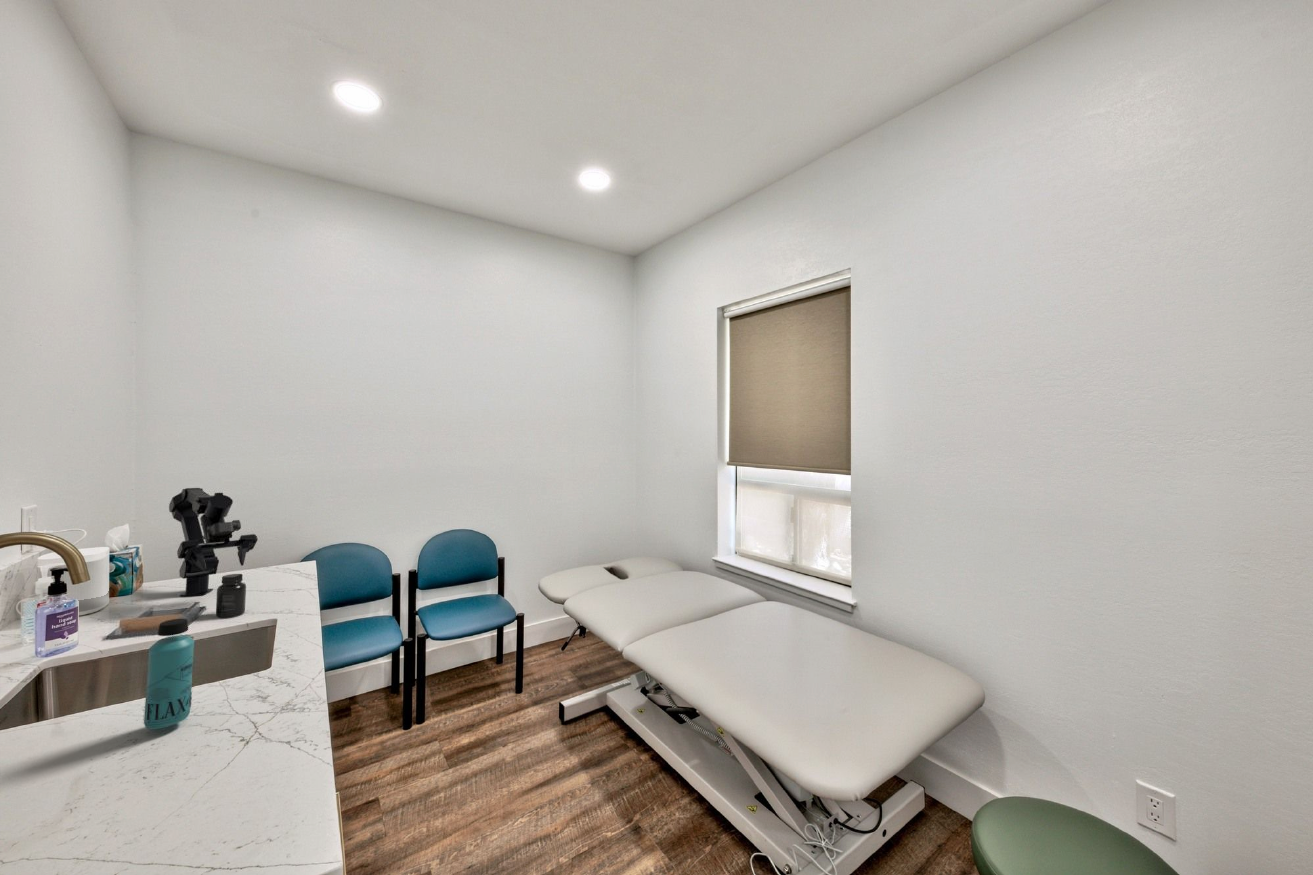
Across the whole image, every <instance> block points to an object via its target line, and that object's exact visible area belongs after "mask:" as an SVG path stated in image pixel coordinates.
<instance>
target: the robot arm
mask: <svg viewBox="0 0 1313 875" xmlns="http://www.w3.org/2000/svg"><path fill="white" fill-rule="evenodd" d="M233 503H234V501H233V498H231V497H230V496H227V495H225V494H224V493H223V492H214V494H213V495H210V494H209V493H207V492H206V491H204V489H203V488H200V487H186V488H182V491H181V492H180V493H178V494H176V495H174V496H173V497H172V498H171V500H170V502H169V503H168V510H169V513H171V516H172V518H173V519H174V520H176V521H177V522H179V523H180V524H181V528H182V534H183V537H184V540H183V541H182V542H181V543H179V545H178V549H177V551H176V552H177V558H178V559H180V560H182V559H183V561H182V564H181V566H180V568H179V577H180V578H181V579H185V580H186V581H185V591H184V592H183V593H181V594H179V596H180V597H195V596H197V597H198V596H205V595H206V594H208V593H211V592H212V591H214V588H209V585H210V584H209V581H210V575H216V574H217V571H218V566H219V563H220V559H219V558H218V556H216V554H215V550H219V549H227V548H236V549H237V557H238V560H239V564H240V566H241V567H242V566H244V564H245V560H246V557H247V556H246V555H247V553H249V552H250V551H252V550H254V548H255V546H256V545H257V544H256V543H257V542H258V540H259V539H258V535H256V534H254V533H252V534H251V533H249V534H242V535H241V534H240V536H239V538H238V539H236V540H235V539H234V540H230V539H232V537H233V533H235V532H237V531H239V530H241V528H242V523H241V521H240V519H236V520H235V519H234V520H232V521H227V522H226V521H225V518H226V517H228V514H229V512H230V510H231V508H232V506H233ZM200 515H201V516H200ZM199 516H200V518H199ZM199 519H200V520H199Z"/></svg>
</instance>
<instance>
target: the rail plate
mask: <svg viewBox="0 0 1313 875" xmlns="http://www.w3.org/2000/svg"><path fill="white" fill-rule="evenodd" d="M206 610H207V605H205V606H201V601H197V602H195V601H194V603H192V604H191V605H190V606H189V607H181V608H169V609H162V610H154V606H153V605H151V606H150V605H149V606H148V605H147V606H146V607H145V608H143V609H142V610H141V611H139V612H137V613H136V614H135V615H134V616H132V617H130V618H126V619H124V618H122V619H120V620H119V624H118V625H119V626H118V627H116V628H115V629H114V630H113V631H111V632H110V633H109V634H107V635H106V639H110V640H116V639H126V638H127V637H128V638H138V637H145V636H146V635H147V636H156V635H158V630H159V625H160V623H162V622H164V621H168V620H172V619H187V620H188V627H189V626H190V625H191V624H192V623H193V622H194V621H195V620H196V619H197V618H199V616H201V615H202V614H203V613H204V612H205V611H206ZM137 636H138V637H137Z"/></svg>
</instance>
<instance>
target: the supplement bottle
mask: <svg viewBox="0 0 1313 875" xmlns="http://www.w3.org/2000/svg"><path fill="white" fill-rule="evenodd" d="M220 583H221V585H219V586H218V587H217V589H216V603H215V604H216V605H215V606H216V607H215V617H216V618H218V619H230V618H236V617H239V616H242V615H243V614H245V612H246V599H247V598H246V596H247V585H246V583H245V582H243V573H230V574H224V575H223V576H222V577H221V582H220Z"/></svg>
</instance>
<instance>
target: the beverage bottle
mask: <svg viewBox="0 0 1313 875" xmlns="http://www.w3.org/2000/svg"><path fill="white" fill-rule="evenodd" d="M188 630H189V626H188V620H187V619H172V620H168V621H164V622H162V623H160V625H159V630H158V634H157V635H158V637H160V636H161V637H163V638H161V639H159V640H157V641H156V642H155V643H153V644H152V645H151V646H150V647H149V648H148V666H147V682H146V683H147V684H146V688H145V690H144V691H145V698H144V712H143V715H142V716H143V725H144V727H145V728H146V729H149V730H150V729H151V730H153V729H162V728H163V729H164V728H167V727H171V726H174V725H177V724H178V723H180V722H181V723H182V721H185V720H186V719H187V718H188V717H189V715H190V713H191V708H192V702H193V701H192V700H193V697H192V696H193V695H192V693H193V688H192V687H193V672H194V670H195V669H194V666H195V663H194V659H195V657H194V650H195V649H194V646H195V639H194V638H192V637H190V636H188V635H185V634H184V633H185V632H187V631H188ZM183 634H184V635H183Z"/></svg>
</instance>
